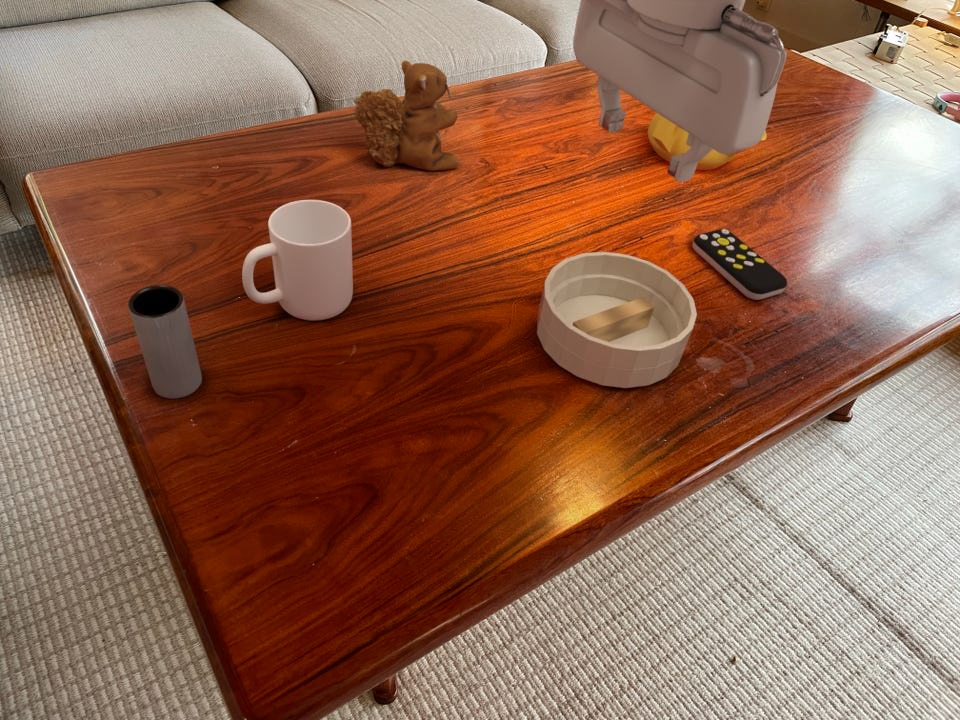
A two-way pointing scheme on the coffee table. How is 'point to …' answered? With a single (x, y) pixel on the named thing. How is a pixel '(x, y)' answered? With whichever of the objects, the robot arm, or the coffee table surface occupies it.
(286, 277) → the cup
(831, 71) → the coffee table surface
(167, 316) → the grey hollow cylinder
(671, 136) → the teapot
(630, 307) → the tan wooden bar
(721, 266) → the remote control
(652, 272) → the bowl
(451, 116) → the stuffed squirrel
